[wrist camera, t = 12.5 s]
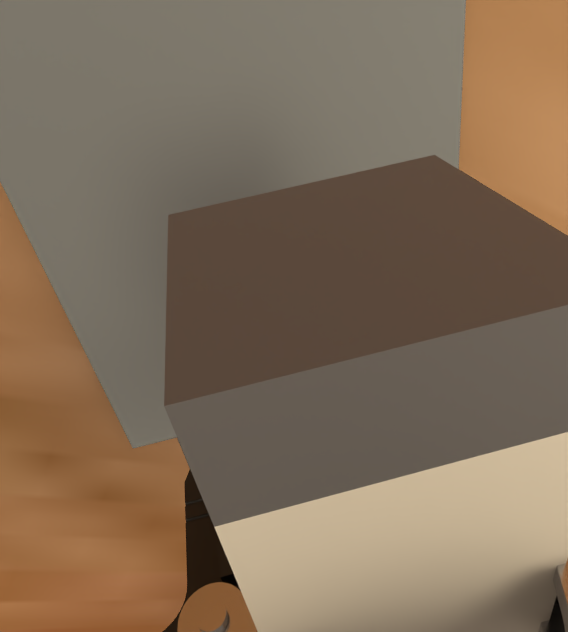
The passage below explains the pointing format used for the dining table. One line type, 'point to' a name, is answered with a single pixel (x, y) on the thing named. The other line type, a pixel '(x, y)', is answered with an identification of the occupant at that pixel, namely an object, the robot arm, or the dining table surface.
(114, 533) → the dining table surface
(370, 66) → the slate mat
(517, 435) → the cream block
